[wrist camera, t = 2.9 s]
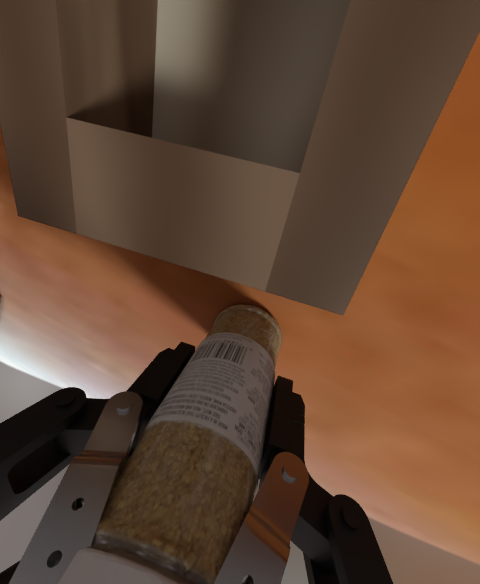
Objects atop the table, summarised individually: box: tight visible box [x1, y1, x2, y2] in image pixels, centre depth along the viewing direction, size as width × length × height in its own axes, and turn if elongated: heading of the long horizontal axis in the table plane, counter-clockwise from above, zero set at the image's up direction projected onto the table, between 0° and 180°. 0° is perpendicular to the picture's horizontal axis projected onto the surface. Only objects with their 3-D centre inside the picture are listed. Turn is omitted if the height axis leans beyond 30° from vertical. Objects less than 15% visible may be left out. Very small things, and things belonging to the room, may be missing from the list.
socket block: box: [0, 0, 480, 315], centre depth 8 cm, size 12×14×6 cm
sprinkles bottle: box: [52, 304, 282, 584], centre depth 10 cm, size 5×5×13 cm
